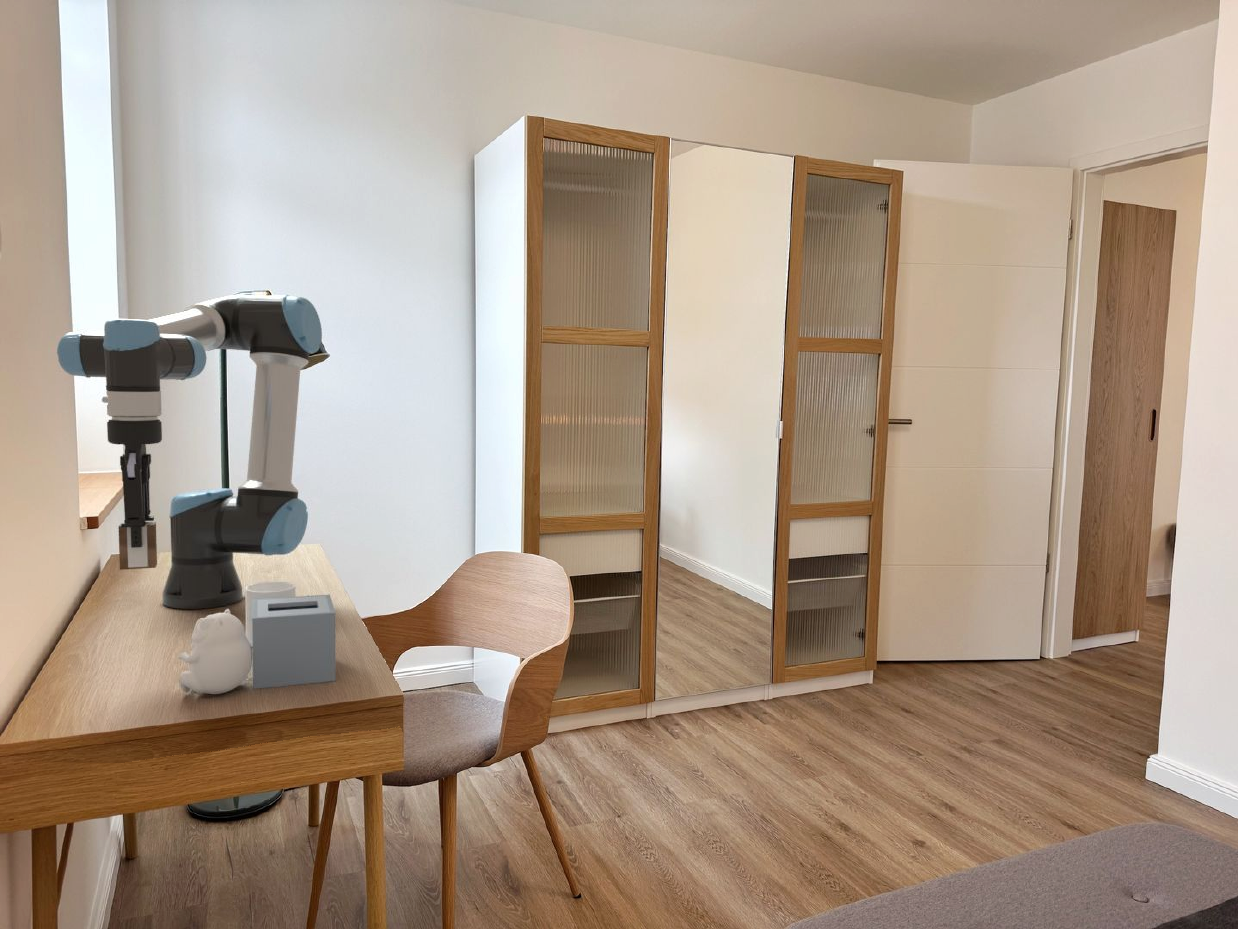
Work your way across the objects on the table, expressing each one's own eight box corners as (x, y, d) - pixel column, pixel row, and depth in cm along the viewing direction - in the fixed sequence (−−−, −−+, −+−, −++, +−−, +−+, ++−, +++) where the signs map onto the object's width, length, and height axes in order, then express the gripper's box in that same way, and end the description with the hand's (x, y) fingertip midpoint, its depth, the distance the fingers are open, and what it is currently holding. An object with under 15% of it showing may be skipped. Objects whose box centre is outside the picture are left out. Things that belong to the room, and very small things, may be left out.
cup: (243, 650, 151) (242, 593, 150) (251, 630, 162) (250, 577, 161) (294, 647, 153) (293, 591, 152) (298, 628, 165) (298, 575, 164)
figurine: (265, 680, 137) (264, 605, 136) (240, 703, 127) (239, 623, 126) (200, 678, 137) (199, 604, 135) (171, 701, 127) (169, 621, 126)
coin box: (253, 664, 144) (252, 599, 143) (329, 657, 148) (329, 594, 147) (253, 689, 133) (252, 618, 132) (335, 681, 137) (335, 612, 136)
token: (122, 566, 140) (120, 523, 139) (157, 564, 142) (155, 522, 141) (119, 569, 138) (118, 526, 137) (155, 567, 140) (154, 524, 139)
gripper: (114, 414, 143) (119, 555, 146) (98, 421, 129) (104, 577, 131) (166, 415, 146) (170, 552, 148) (155, 421, 131) (160, 574, 134)
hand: (139, 564), depth 140 cm, fingers closed on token, 2 cm apart
